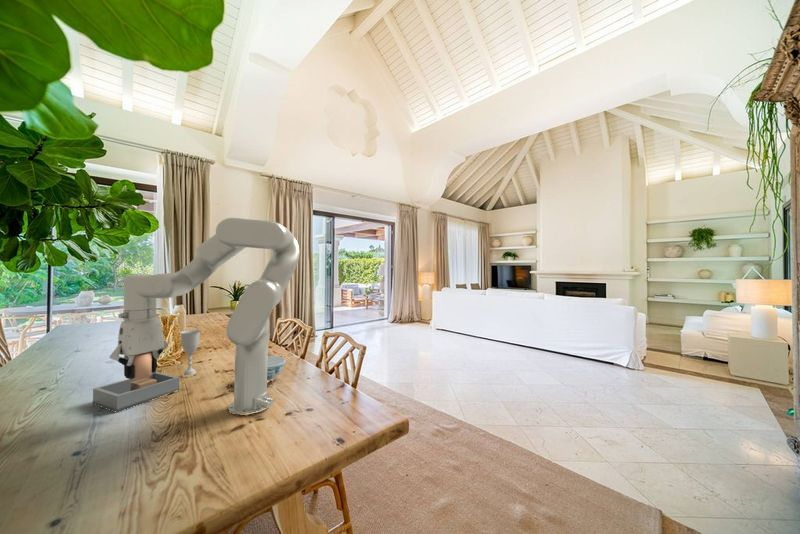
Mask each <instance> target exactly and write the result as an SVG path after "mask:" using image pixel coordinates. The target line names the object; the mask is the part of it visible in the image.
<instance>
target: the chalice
mask: <svg viewBox="0 0 800 534" xmlns="http://www.w3.org/2000/svg"><path fill="white" fill-rule="evenodd" d="M201 332H202V330H201V329H188V330H182V331H180V332H179V333H180V335H181V337H180V339H181V341H180V342H181V343H180V344H181V347H182V349H183V352H184V353H185V354H186V355H188V357H187V360H188V362H187V365H188V367H187V369H185V370H184V372H183V374H184V375H185V376H186V375H193V374H195V373H197V371H196V369H195V368H193V367H192V364H193V362H192V361H193V357H192V355H193V354H194V353H195V352H196V350H197V349H198V347H199V345H200V341H201V340H200V338H201V336H200V334H201Z"/></svg>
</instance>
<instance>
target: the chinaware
mask: <svg viewBox="0 0 800 534" xmlns="http://www.w3.org/2000/svg"><path fill="white" fill-rule="evenodd" d="M285 364H286V358H285V357H283V356H279V355H268V358H267V380H271V379H274V380H275V378H276V377H278V376H279V375H280V374H281V373H282V371H283V370H284V367H285Z"/></svg>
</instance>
